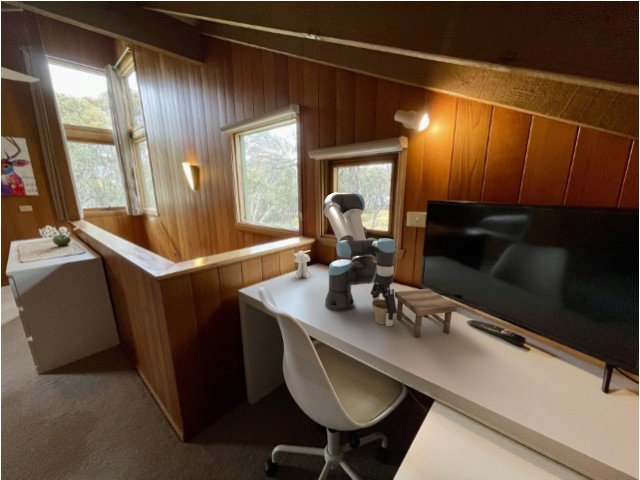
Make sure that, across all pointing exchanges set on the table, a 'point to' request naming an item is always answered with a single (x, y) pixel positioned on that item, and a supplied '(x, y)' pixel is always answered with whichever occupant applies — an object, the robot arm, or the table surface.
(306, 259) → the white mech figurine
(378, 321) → the flower pot
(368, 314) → the table surface
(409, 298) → the walnut stool
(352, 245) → the robot arm
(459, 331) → the table surface
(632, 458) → the table surface
